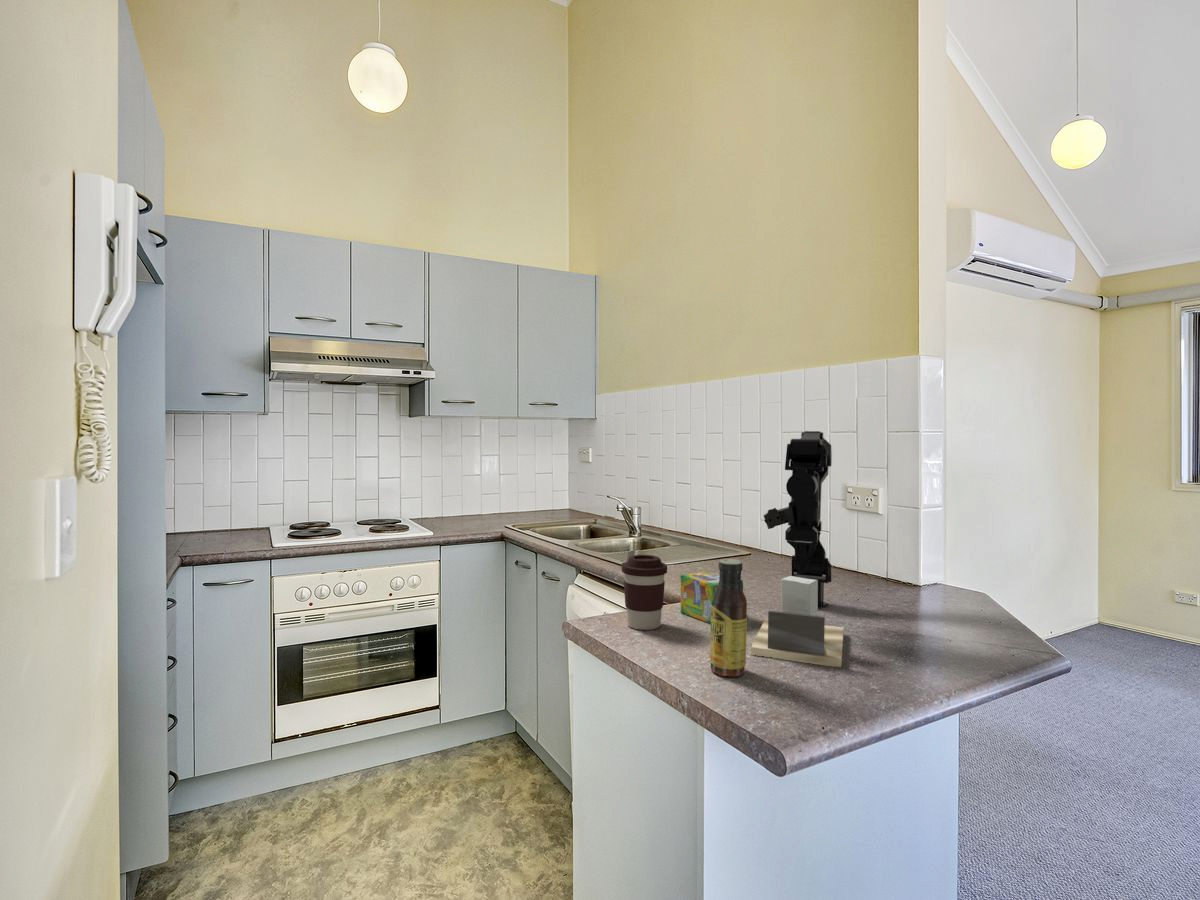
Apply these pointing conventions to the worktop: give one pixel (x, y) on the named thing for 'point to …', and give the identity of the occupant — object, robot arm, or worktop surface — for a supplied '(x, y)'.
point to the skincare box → (799, 595)
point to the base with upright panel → (799, 639)
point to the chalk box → (699, 594)
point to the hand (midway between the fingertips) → (803, 568)
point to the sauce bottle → (728, 622)
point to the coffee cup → (644, 591)
